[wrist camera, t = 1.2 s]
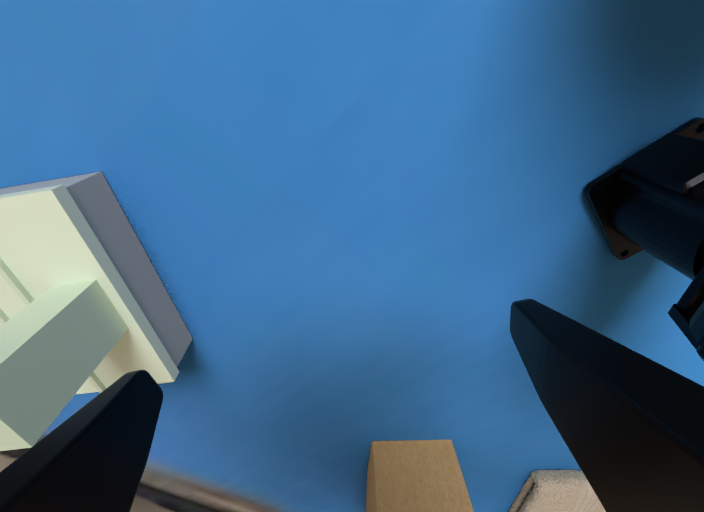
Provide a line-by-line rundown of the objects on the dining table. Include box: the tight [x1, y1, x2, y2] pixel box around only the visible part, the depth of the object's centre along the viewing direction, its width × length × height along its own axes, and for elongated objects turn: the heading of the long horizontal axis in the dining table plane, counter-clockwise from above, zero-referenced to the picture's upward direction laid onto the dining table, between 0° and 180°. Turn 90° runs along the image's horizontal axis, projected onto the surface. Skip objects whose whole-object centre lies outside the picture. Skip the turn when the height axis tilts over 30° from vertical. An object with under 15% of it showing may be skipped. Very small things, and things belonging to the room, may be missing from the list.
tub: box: [0, 172, 193, 367], centre depth 21 cm, size 8×13×3 cm, turn 9°
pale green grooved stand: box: [0, 185, 179, 451], centre depth 16 cm, size 8×13×8 cm, turn 9°
